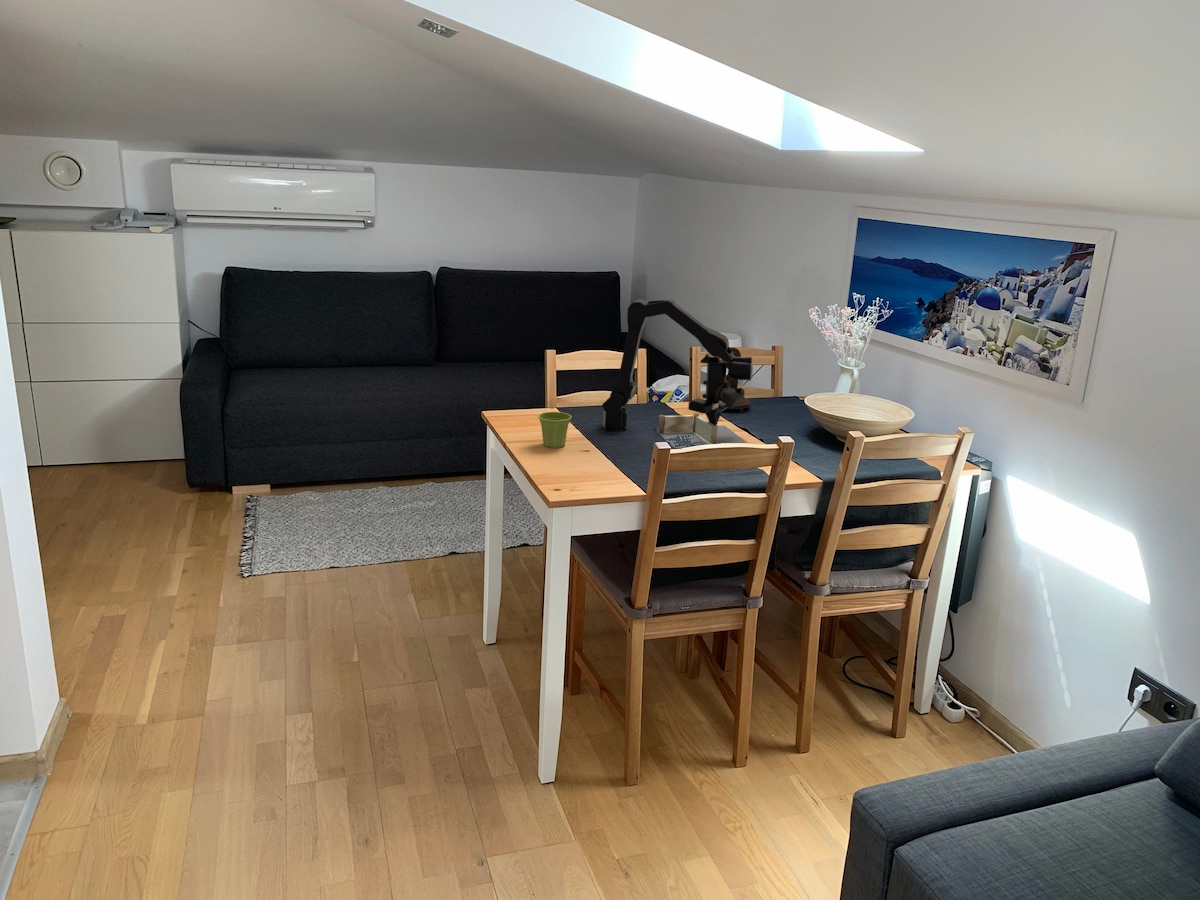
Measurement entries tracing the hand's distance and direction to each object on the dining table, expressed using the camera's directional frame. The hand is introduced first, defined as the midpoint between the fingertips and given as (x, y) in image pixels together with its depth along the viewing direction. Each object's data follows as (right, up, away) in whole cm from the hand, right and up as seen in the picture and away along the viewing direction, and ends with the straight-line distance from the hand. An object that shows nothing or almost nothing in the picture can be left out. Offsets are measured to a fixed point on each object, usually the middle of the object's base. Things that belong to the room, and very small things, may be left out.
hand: (713, 428), depth 277 cm
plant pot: (-47, -5, -12) cm, 49 cm away
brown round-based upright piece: (+9, +8, +38) cm, 39 cm away
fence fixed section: (-10, -1, +5) cm, 12 cm away
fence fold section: (-2, -3, 0) cm, 3 cm away
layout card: (-4, -3, +2) cm, 5 cm away
